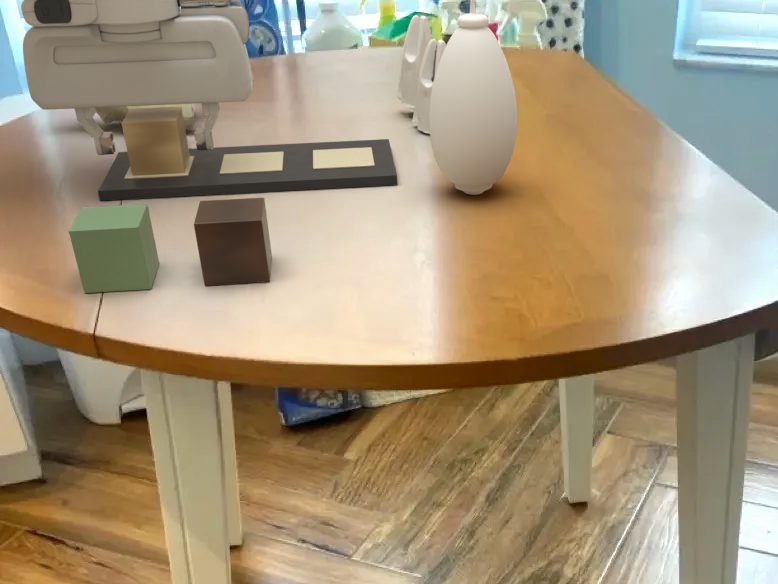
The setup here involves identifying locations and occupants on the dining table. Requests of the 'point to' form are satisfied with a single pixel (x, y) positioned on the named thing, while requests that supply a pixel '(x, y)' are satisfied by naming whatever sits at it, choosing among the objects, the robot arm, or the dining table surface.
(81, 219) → the green block
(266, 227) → the walnut block
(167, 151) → the maple block
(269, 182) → the word board
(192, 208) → the dining table surface
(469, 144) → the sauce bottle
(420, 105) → the shaker set
